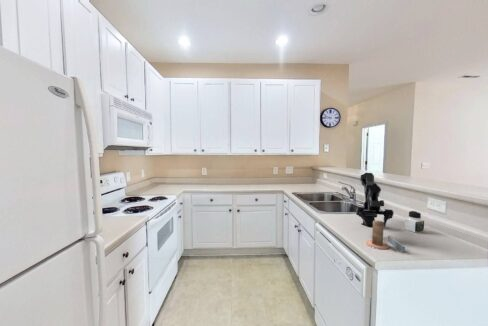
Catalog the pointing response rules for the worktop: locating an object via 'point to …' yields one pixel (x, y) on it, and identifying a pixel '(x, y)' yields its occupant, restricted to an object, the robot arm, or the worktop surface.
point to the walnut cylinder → (377, 233)
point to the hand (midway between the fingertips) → (375, 225)
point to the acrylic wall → (396, 244)
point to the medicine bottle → (414, 222)
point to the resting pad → (369, 242)
